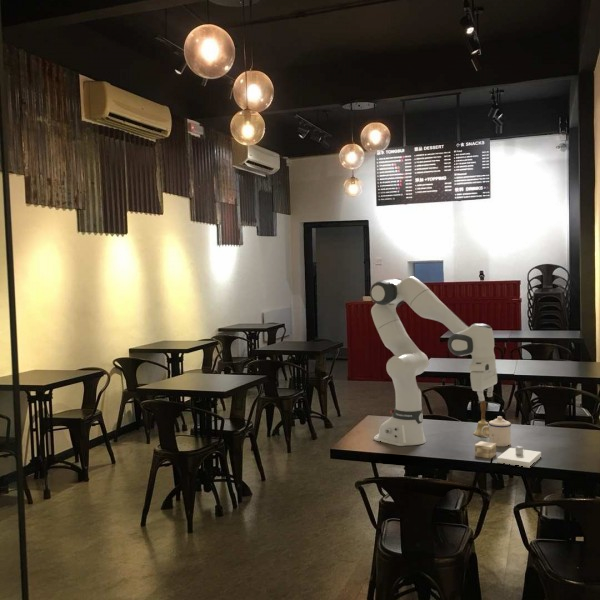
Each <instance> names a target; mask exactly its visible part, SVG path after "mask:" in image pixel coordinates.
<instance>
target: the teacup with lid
mask: <svg viewBox="0 0 600 600" xmlns="http://www.w3.org/2000/svg"><path fill="white" fill-rule="evenodd" d="M511 426H512V423H511V422H510V421H508V420H505V419H504V418H503V416H501V415H499V416H497V418H494V419H493V420H490V421H488V426H484V427H483V428H482V434H483V435H484V436H483V437H485V438H488V439H489V441H488V442H490V443H496V447H508V445H509V446H510V445H511V443H512V442H511V441H512V440H511V437H512V436H511ZM484 428H489V436H487V435H485V434H484V432H483V429H484Z"/></svg>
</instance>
